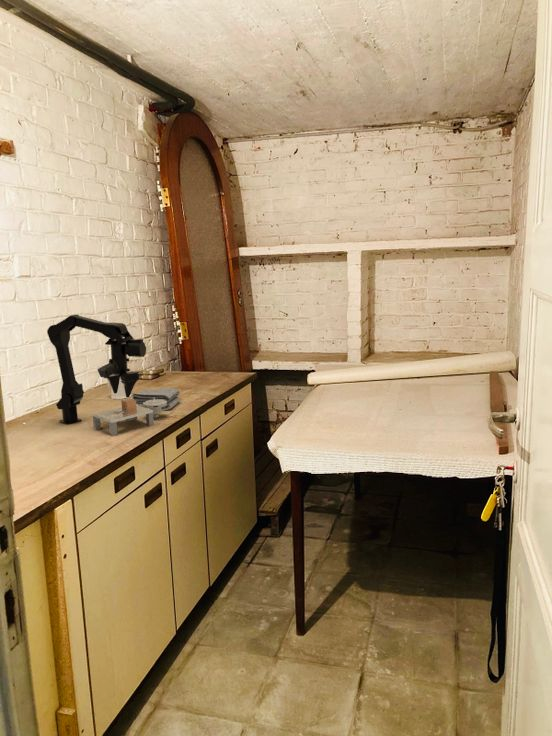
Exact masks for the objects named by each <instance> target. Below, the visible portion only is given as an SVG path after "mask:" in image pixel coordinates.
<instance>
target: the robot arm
mask: <svg viewBox="0 0 552 736" xmlns="http://www.w3.org/2000/svg"><path fill="white" fill-rule="evenodd" d="M77 327H78V328H81V329H86V330H89V331H93V332H97V333H100V334H101V335H103V336H105V337H106V338H108V340H107V341H106V342H105V345H107V346H110V353H111V358H109V359H108V363H107V364H104V365H103V366H100V367H99V368H97V372H98V375H99V376H100V378H103V379H108V380H109V385H110V388H111V387H112V389H113V392H114V393H117V391H118V386H119V380H120V378H121V380H122V381H121V382H122V383H123V384H124V388H125V394H126V397H129V396H130V394H131V393H132V391H133V389H134V387H135V385H136V382H138V381H139V380H140V373H138V372H136V371H133V370H132V371H131V369H130V368H128V362H130V357H132V358H134V357H135V358H143V357H145V356H146V353H147V346H146V344H145V342H144V339H143V338H139V339H138V338H137V339H136V338H134V337H133V336H132V334H131V333H130V332H129V330H128V327H127V326H126V324H125V323H123V322H105V321H101V320H98V319H93V318H90V317H85V316H81V315H79V314H71V315H68V316H67V317H65V318H64V319H63V320H61V321H59V322H58V323H56V324H52V325H50V326H49V327H48V329H47V330H46V331H47V332H46V334H47V336H48V339H49V341H50V343H51V344H52V346H53V347H54V348H55V352H56V356H57V361H58V365H59V366H58V367H59V370H60V376H61V380H62V385H61V390H60V392H61V393H60V395H61V398H60V399H59V400H58V401H57V403H55V404H56V408H57V410H61V413H62V414H61V415H62V419H60V420H59V422H60V423H63V424H65V425H70V424H74V423H77V422H78V423H79V422H82V421H81V420H82V419H81V418H79V415H78V408H77V406H78V405H81V401H82V399H83V398H84V393H85V391H84V386H83V383H79V382H78V381H77V379H76V377H75V376H76V375H75V371H74V366H73V361H72V356H71V351H70V347H69V344H70V341H71V332H72V331H73V330H74V329H76V328H77ZM127 356H128V357H127ZM108 380H107V381H108ZM131 395H132V394H131ZM129 398H130V397H129ZM73 422H74V423H73ZM69 423H70V424H69Z"/></svg>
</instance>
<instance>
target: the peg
mask: <svg viewBox="0 0 552 736" xmlns="http://www.w3.org/2000/svg"><path fill="white" fill-rule="evenodd" d="M120 401H121V407H122V411H125V412H131V411H135V410H137V408H136V400H134V399H132V398H126V399H120ZM134 419H137V420H138V416H137V417H133V418H129V419H125V420H124V421H128V422H130V421H135V420H134Z"/></svg>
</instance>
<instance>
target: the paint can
mask: <svg viewBox="0 0 552 736" xmlns="http://www.w3.org/2000/svg"><path fill="white" fill-rule="evenodd" d="M121 381H122V380H121V378H120V380H119V386H118V391H117V393H114V392H113V389H112V387H111V385H110V382H109V380H108V379H107V388H108V389H110V393H111V394H110V395H111V396H110V398H111V399H113V400H125V399H124V398H126V399H130V398H131V397H132V394H130V396H129V397H126V394H125V388H124V384H123V383H122V382H121Z"/></svg>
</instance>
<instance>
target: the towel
mask: <svg viewBox="0 0 552 736" xmlns="http://www.w3.org/2000/svg"><path fill="white" fill-rule="evenodd" d="M180 393H181V392H180V390H178V389H177V388H173V387H164V388H163V387H162V388H156V389H143V390H141V391H140V392H133V393H132V394H131V397H132V398H131V399H134V400H136V405H138V406H141V407H143V403H144V402H145V401H148V400H154V398H155V399H161V400H162V399H163V400H166V401H167V405H166V406H164V407H161V410H162V412H164V411H165V410H166V411H169V410H171V409H172V408H173V407H175V406H176V405H178V404H179V403H180V401H181V400H180V397H178V396H179V395H180ZM144 408H145V407H144ZM148 409H149V408H148Z"/></svg>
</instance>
